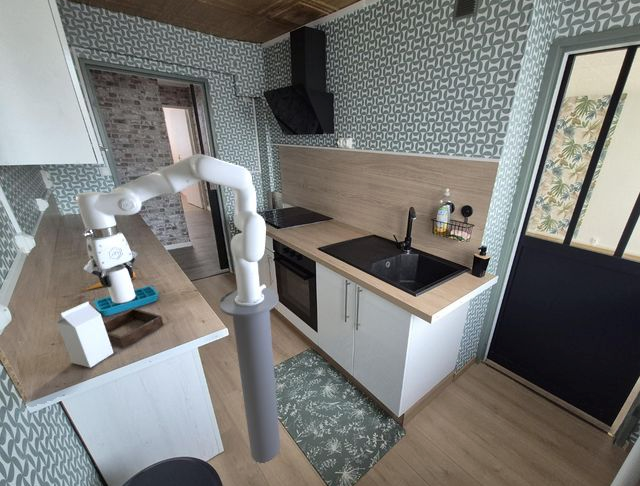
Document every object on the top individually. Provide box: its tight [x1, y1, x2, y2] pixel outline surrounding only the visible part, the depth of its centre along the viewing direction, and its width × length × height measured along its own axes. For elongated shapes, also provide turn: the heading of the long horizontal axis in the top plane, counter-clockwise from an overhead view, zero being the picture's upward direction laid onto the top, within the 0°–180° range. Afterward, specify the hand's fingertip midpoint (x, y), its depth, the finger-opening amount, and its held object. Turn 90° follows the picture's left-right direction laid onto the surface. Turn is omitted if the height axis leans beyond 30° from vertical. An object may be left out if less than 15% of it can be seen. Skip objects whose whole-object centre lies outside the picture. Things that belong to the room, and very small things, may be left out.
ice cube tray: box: [93, 285, 160, 317], centre depth 123 cm, size 12×20×3 cm, turn 139°
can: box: [106, 264, 135, 304], centre depth 100 cm, size 6×6×12 cm
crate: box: [103, 307, 164, 349], centre depth 106 cm, size 15×15×4 cm
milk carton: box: [56, 301, 114, 369], centre depth 90 cm, size 7×7×19 cm
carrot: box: [82, 271, 137, 292], centre depth 137 cm, size 20×4×4 cm, turn 143°
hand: (118, 281), depth 99 cm, fingers closed on can, 6 cm apart
